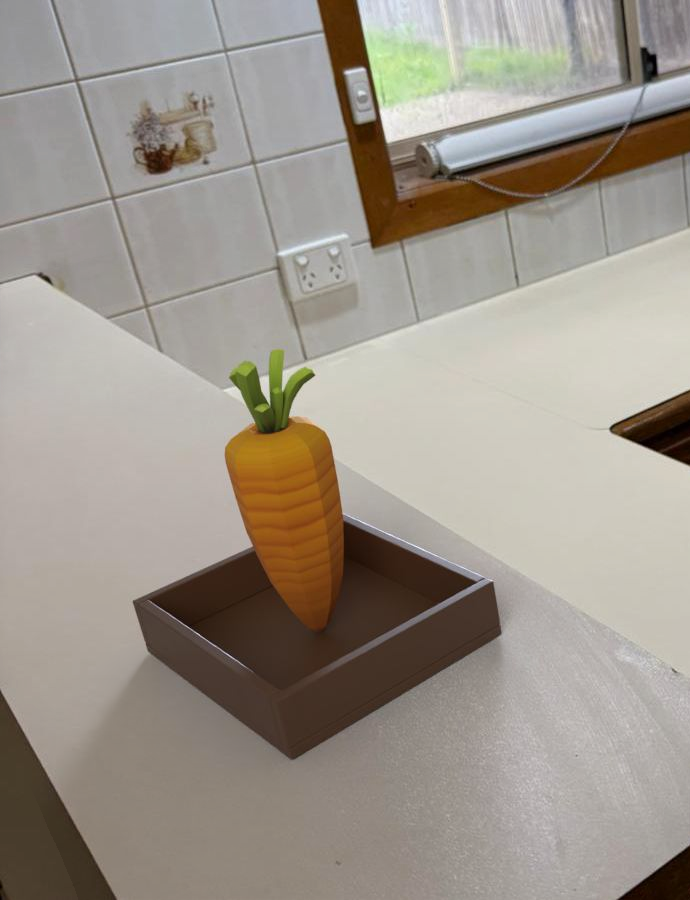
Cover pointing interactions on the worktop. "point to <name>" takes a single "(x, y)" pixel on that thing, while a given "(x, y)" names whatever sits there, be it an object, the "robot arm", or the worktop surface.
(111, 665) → the worktop surface
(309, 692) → the tray
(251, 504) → the carrot
